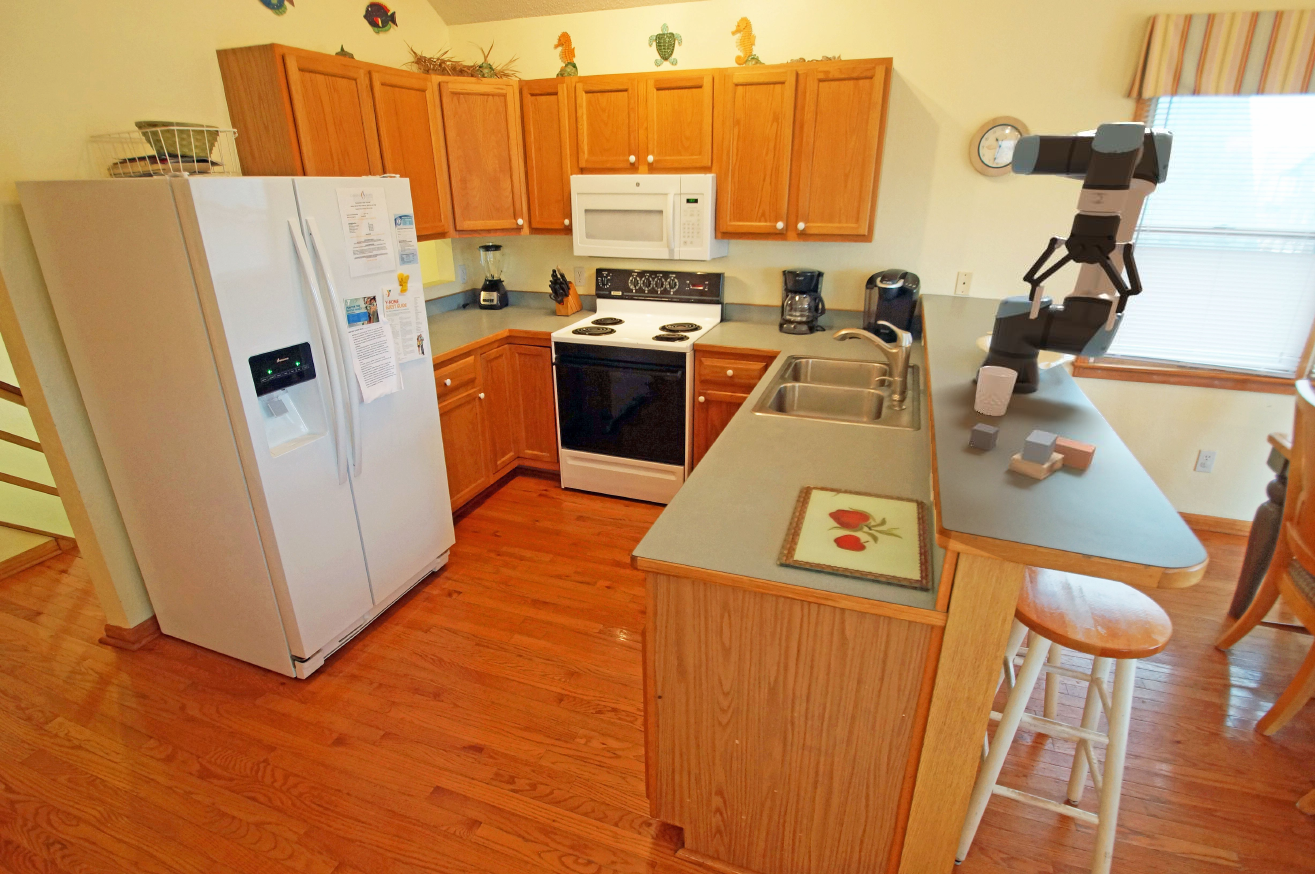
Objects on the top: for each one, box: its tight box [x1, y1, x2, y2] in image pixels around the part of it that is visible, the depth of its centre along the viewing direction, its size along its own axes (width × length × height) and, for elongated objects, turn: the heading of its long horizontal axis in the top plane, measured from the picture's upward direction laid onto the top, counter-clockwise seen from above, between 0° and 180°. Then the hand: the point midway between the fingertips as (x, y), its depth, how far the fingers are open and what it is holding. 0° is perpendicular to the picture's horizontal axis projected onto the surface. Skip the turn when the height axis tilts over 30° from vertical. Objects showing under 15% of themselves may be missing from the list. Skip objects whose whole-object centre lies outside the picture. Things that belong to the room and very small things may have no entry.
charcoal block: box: [968, 422, 1000, 452], centre depth 134 cm, size 4×4×4 cm
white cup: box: [973, 366, 1018, 417], centre depth 152 cm, size 8×8×10 cm
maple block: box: [1008, 450, 1065, 481], centre depth 125 cm, size 9×6×3 cm, turn 129°
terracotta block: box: [1054, 436, 1097, 471], centre depth 127 cm, size 7×4×4 cm, turn 46°
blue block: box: [1021, 429, 1059, 465], centre depth 124 cm, size 7×4×4 cm, turn 138°
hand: (1069, 323), depth 131 cm, fingers open, 13 cm apart
